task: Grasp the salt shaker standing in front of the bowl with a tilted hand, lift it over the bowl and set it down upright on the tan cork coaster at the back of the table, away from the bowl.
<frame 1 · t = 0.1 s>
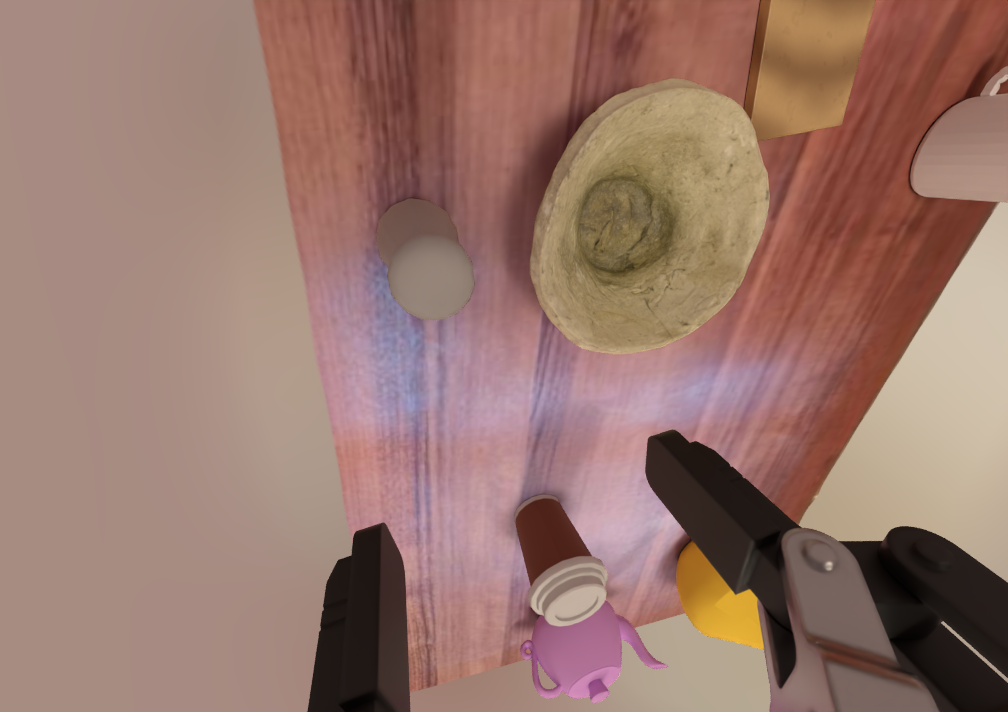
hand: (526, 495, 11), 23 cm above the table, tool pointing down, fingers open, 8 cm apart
cork mat: (800, 64, 30), on the table
mug: (952, 133, 38), on the table
bowl: (602, 220, 32), on the table
salt shaker: (416, 235, 29), on the table
teapot: (568, 602, 62), on the table
coffee cup: (536, 510, 48), on the table
vase: (702, 546, 66), on the table
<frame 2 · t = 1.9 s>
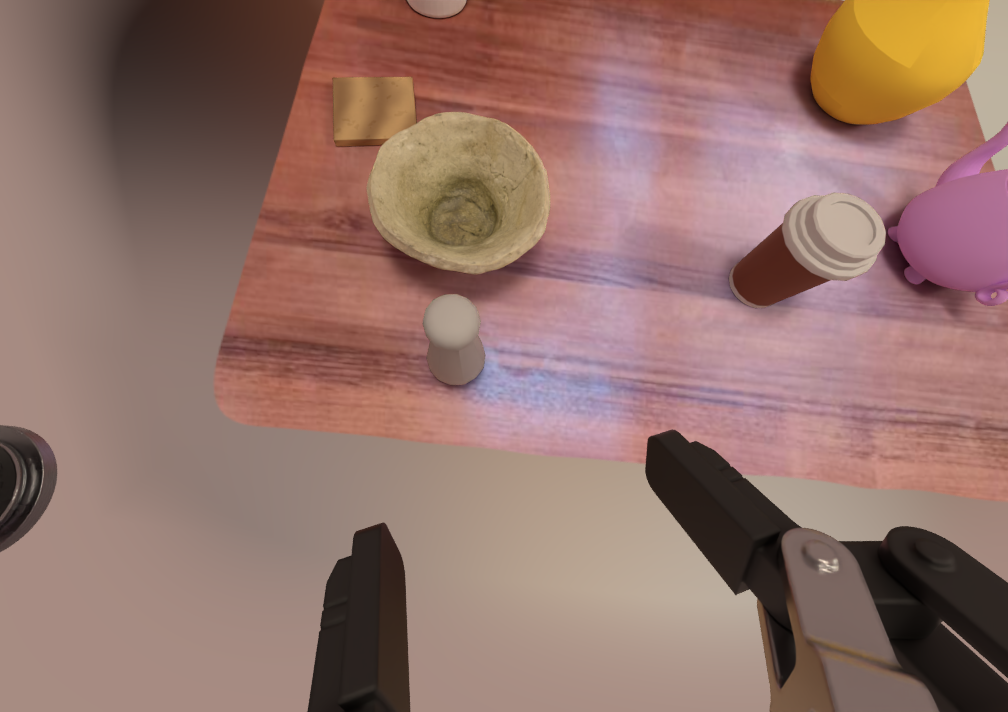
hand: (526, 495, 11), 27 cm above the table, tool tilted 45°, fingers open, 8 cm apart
cork mat: (376, 114, 47), on the table
bowl: (460, 232, 44), on the table
salt shaker: (457, 363, 39), on the table
teapot: (920, 249, 49), on the table
coffee cup: (752, 284, 45), on the table
vase: (841, 100, 56), on the table
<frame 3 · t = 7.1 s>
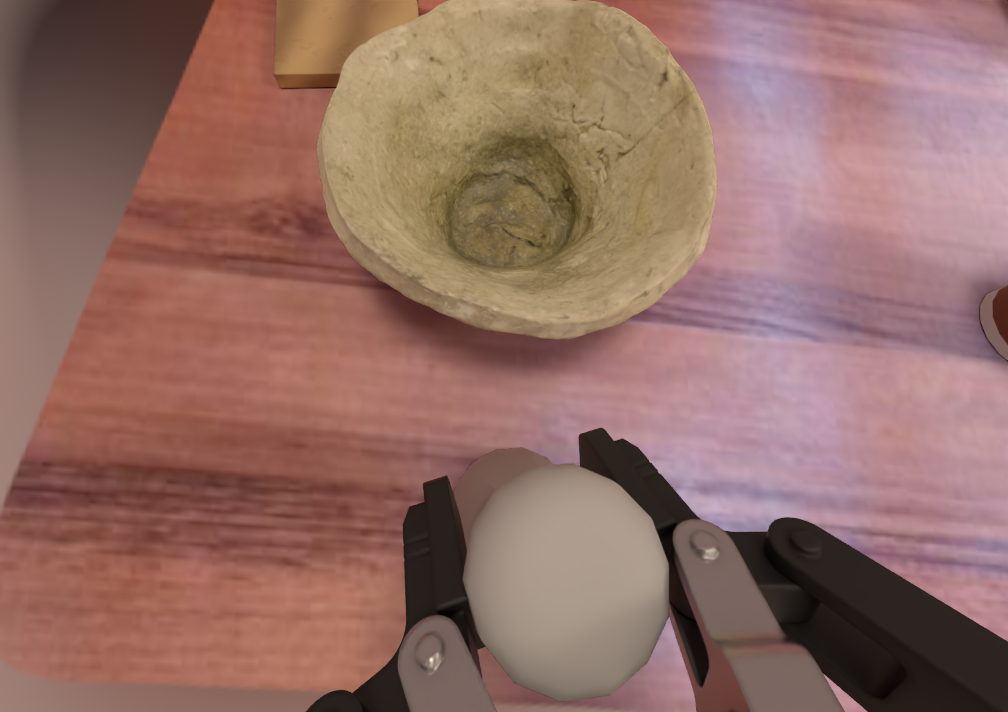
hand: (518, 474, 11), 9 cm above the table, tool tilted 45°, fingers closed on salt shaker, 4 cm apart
cork mat: (353, 36, 27), on the table
bowl: (504, 239, 24), on the table
salt shaker: (507, 505, 19), on the table, touching gripper
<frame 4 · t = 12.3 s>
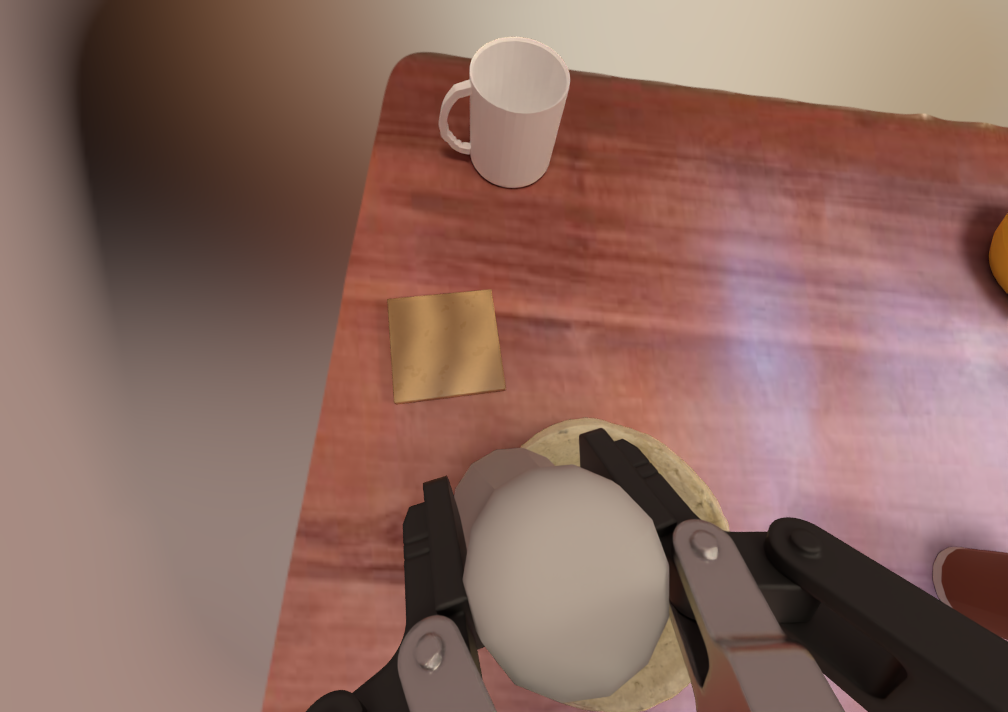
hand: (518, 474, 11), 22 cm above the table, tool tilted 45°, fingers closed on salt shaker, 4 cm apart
cork mat: (446, 346, 35), on the table
mug: (497, 156, 42), on the table
bowl: (571, 532, 32), on the table
salt shaker: (508, 505, 19), point 13 cm above the table, touching gripper
coffee cup: (963, 584, 33), on the table
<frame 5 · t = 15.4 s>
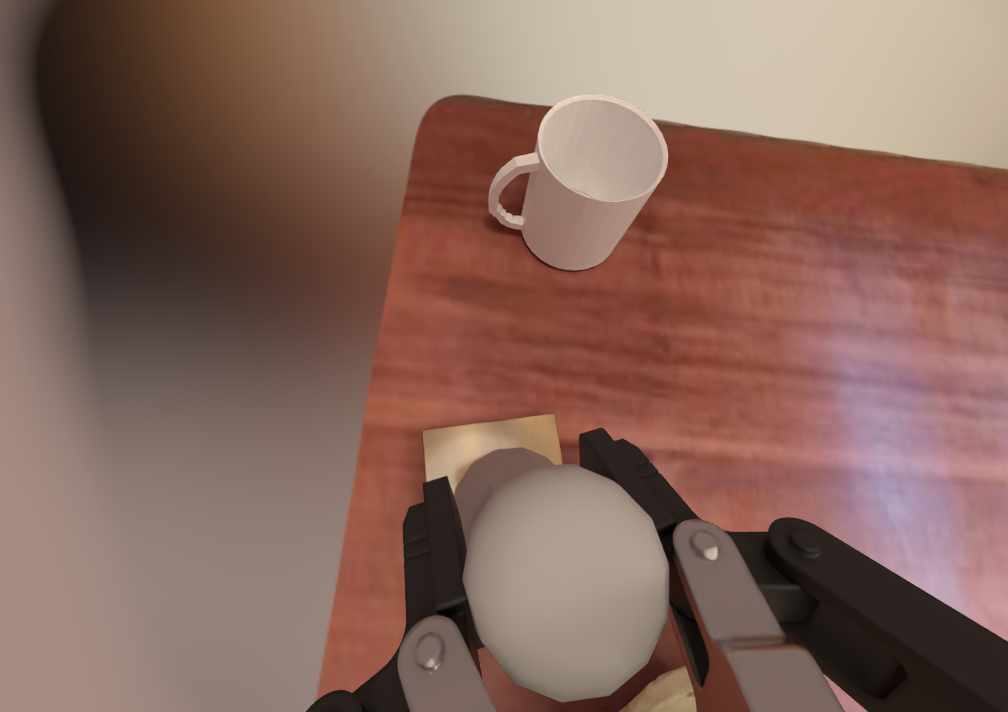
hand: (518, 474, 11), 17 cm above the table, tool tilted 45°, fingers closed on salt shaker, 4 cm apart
cork mat: (497, 490, 27), on the table
mug: (552, 227, 34), on the table
salt shaker: (508, 505, 19), point 8 cm above the table, touching gripper
when the fingers open (10 cm above the table, at t = 17.7 s): salt shaker stays where it is, resting on cork mat.
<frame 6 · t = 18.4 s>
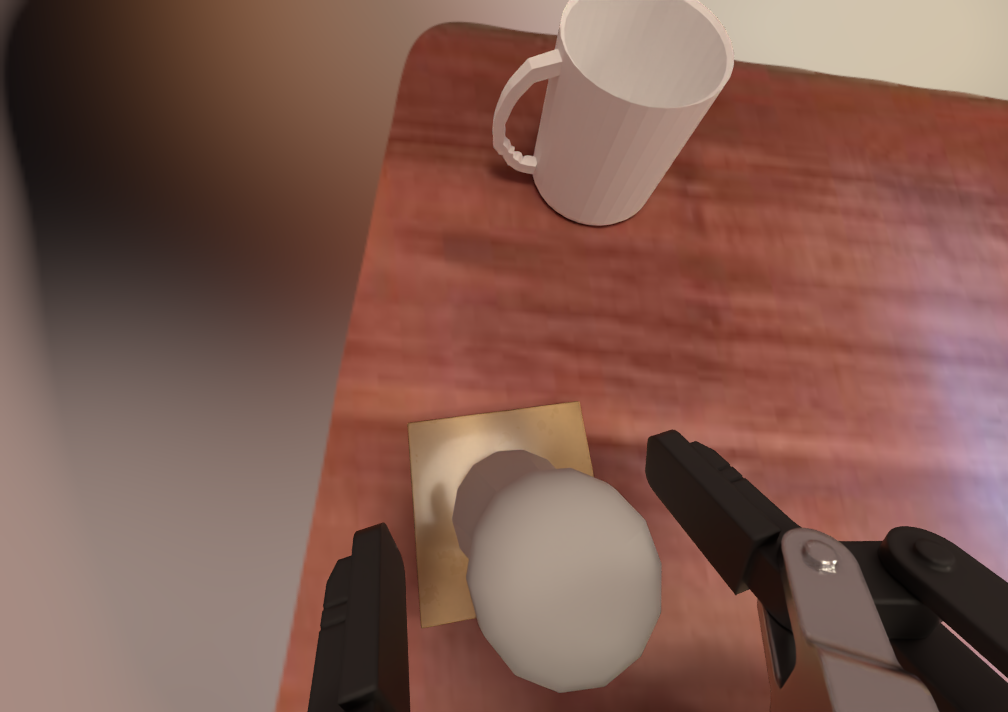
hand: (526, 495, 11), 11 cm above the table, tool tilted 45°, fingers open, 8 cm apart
cork mat: (506, 502, 21), on the table
mug: (570, 175, 28), on the table
salt shaker: (509, 505, 20), point 1 cm above the table, touching cork mat
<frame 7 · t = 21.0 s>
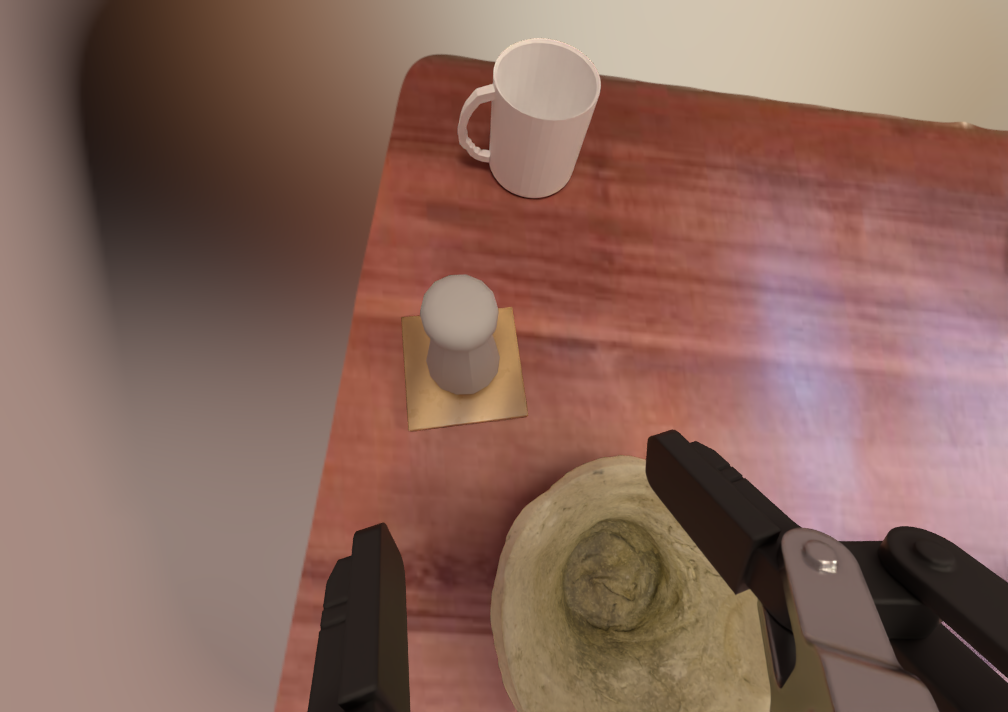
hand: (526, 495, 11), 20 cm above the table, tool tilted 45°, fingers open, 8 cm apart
cork mat: (463, 367, 33), on the table
mug: (516, 164, 39), on the table
bowl: (599, 574, 29), on the table
salt shaker: (464, 367, 32), point 1 cm above the table, touching cork mat
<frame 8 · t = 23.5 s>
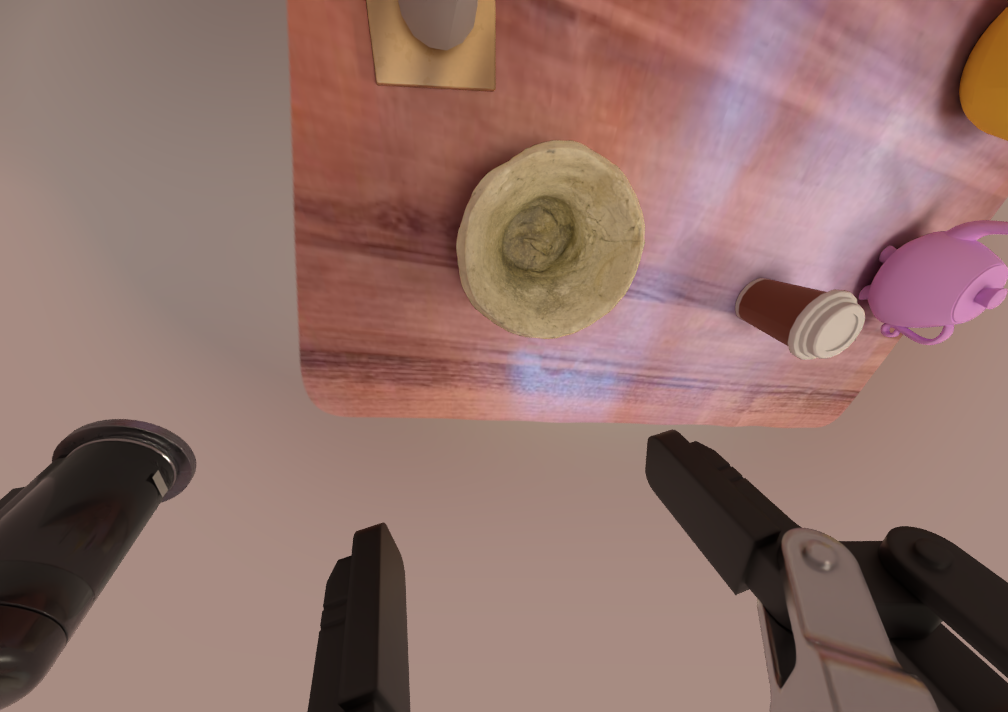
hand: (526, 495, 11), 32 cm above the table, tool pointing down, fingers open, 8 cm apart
cork mat: (432, 12, 29), on the table
bowl: (528, 238, 40), on the table
salt shaker: (434, 10, 29), point 1 cm above the table, touching cork mat
teapot: (890, 267, 58), on the table
coffee cup: (753, 299, 53), on the table
vase: (991, 60, 45), on the table
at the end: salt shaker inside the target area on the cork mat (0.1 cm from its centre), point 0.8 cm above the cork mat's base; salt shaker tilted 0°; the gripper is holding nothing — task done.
